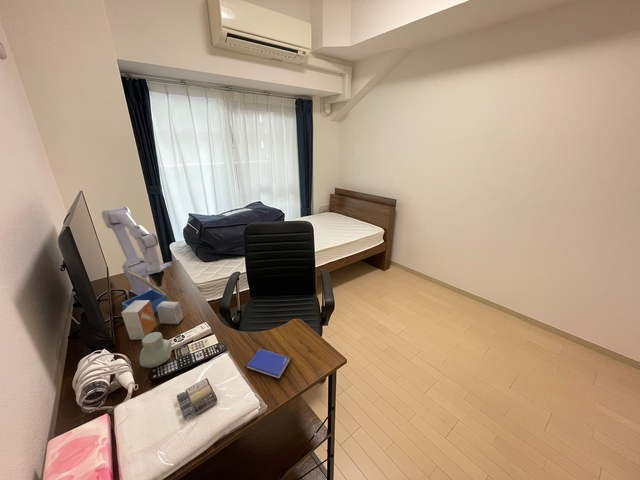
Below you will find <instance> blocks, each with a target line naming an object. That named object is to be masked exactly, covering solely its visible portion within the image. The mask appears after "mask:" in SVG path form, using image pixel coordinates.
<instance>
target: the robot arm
mask: <svg viewBox="0 0 640 480" xmlns="http://www.w3.org/2000/svg"><path fill="white" fill-rule="evenodd" d="M101 217H102V220H103V222H104V224H105V226H106V228H107V229H111V230H112V231H113V233H114V235H115V238H116V240H117V242H118V244H119V246H120V248H121V251H122V253H123V255H124V257H125V259H126V260H125V261H124V263H123V264H122V269H123V273H124V275H125V277H126V278H127V279H128V282H129V285H130V290H129V292H131V293H132V294H134V295H136V296H138V295H140V294H142V293H145V292H147V291H149V290H151V289H152V288H150V287H149V286H147V285H146V284H144V283H143V282H142V281H140V280H139V279H140V278H138V279H137V278H136V277H134V276H133V275H131V274H130V273H129V271H130V272H132V273H134V274H137V275H139V276H141V277H143V278H145V279H146V280H147V281H149V282H150V283H151V281H150V279H151V280H152V281H153V282H154V283H155V286H156V287H157V288H161V287H162V286H163V279H164V274H165V271H164V270H165V269H168V268H171V267H172V262H169V261H168V262H165V263H162V262H161V259H160V254H159V250H158V247H157V246H158V245H159V240H158V237H157V235H155V233H153V232H152V233H151V232H149V231H147V230H146V229H145V228H144V227H143V226H142V225H140V224H137V223H136V222H135V221H134V220H133V218H132V212H131V211H130V209H129V207H127V206H121V207H116V208H110V209H103V210H102V212H101ZM127 229H128V231H127ZM130 236H131V237H132V238H133V239H134V240H135V241H136V245H137V247H138V248H139V251H140V252H141V254H142V256H143V257H141V256H139V255H138V253H137V251H136V249H135V247H134V244H133V242H132V239H131V238H130Z"/></svg>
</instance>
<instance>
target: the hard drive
mask: <svg viewBox="0 0 640 480" xmlns="http://www.w3.org/2000/svg"><path fill="white" fill-rule="evenodd" d="M290 361H291V357H289V356H286V355H282V354H279V353H276V352H272V351H270V350H266V349H263V348H259V349H257V351H256V352H255V354H254V355H253V356H252V357H251V359H250V360H249V361H248V362H247V364H246V369H249V370H252V371H255V372H259V373H261V374H264V375H267V376H270V377H274V378H276V379H280V378H281V376H282V374H283V373H284V371H285V370H286V367H287V366H288V364H289V363H290Z"/></svg>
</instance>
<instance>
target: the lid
mask: <svg viewBox="0 0 640 480" xmlns="http://www.w3.org/2000/svg"><path fill="white" fill-rule="evenodd" d="M129 273H130V274H131V275H133V276H134V277H136V278H137V279H138V278H140V279H139V280H140V281H142V282H143V283H144V284H146V285H147V286H149V287H150V288H152V289H153V290H156V291H158V292H160V293H162V294H164V295H166V296H167V293H165V292H164V291H163V290H162V289H160V287H158V286H157V285H154V284H153V283H151V281H150V280H149V281H150V282H149V281H147V280H146V279H145V278H143V277H141V276H139V275H137V274H134V273H132V272H130V271H129Z"/></svg>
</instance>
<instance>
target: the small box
mask: <svg viewBox="0 0 640 480" xmlns="http://www.w3.org/2000/svg"><path fill="white" fill-rule="evenodd" d="M121 316H122V319H123V322H124V325H125V328H126V331H127V334H128V337H129V340H132V341H133V340H142V339H143V338H144V337H145V336H146V335H148V334H150V333H153V331H154V330H155V329H156V328H157V327H158V324H157V321H156V317H155V313H153V310H152V306H151V302H150V300H135V301H134V302H133V303H131V304H130V305H129V306H128V307H127V308H126V309H125V310H122V311H121Z"/></svg>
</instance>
